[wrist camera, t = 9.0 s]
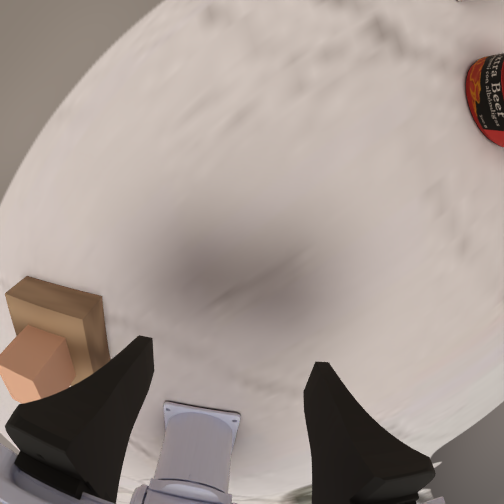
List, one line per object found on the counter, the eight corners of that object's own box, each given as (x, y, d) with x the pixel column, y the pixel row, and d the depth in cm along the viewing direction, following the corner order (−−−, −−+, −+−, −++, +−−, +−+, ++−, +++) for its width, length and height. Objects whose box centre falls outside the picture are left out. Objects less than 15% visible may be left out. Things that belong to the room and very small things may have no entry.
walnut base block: (113, 368, 26) (99, 395, 23) (45, 345, 26) (28, 367, 22) (103, 294, 23) (82, 319, 19) (29, 274, 23) (4, 293, 19)
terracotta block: (76, 375, 22) (50, 417, 17) (39, 361, 22) (12, 398, 17) (65, 337, 20) (32, 381, 15) (27, 324, 20) (-6, 361, 15)
